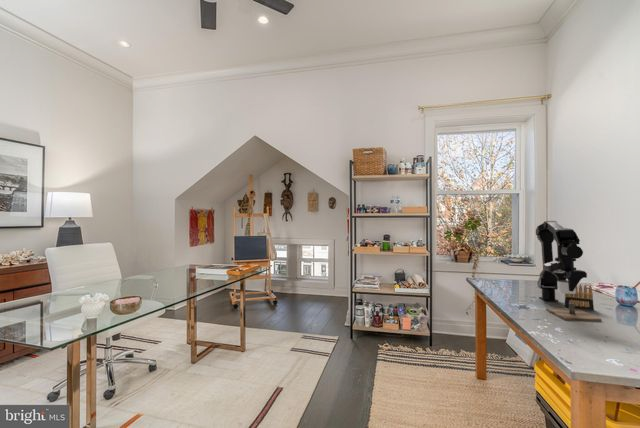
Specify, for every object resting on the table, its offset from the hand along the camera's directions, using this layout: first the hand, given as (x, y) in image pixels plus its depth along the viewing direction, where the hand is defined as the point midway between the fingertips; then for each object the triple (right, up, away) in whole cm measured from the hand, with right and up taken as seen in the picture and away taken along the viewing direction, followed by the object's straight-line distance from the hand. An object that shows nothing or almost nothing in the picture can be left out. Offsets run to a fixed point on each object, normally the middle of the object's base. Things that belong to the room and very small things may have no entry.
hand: (566, 289), depth 136 cm
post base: (+1, -11, -2) cm, 12 cm away
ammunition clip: (+13, -12, +8) cm, 19 cm away
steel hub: (0, -1, 0) cm, 1 cm away
